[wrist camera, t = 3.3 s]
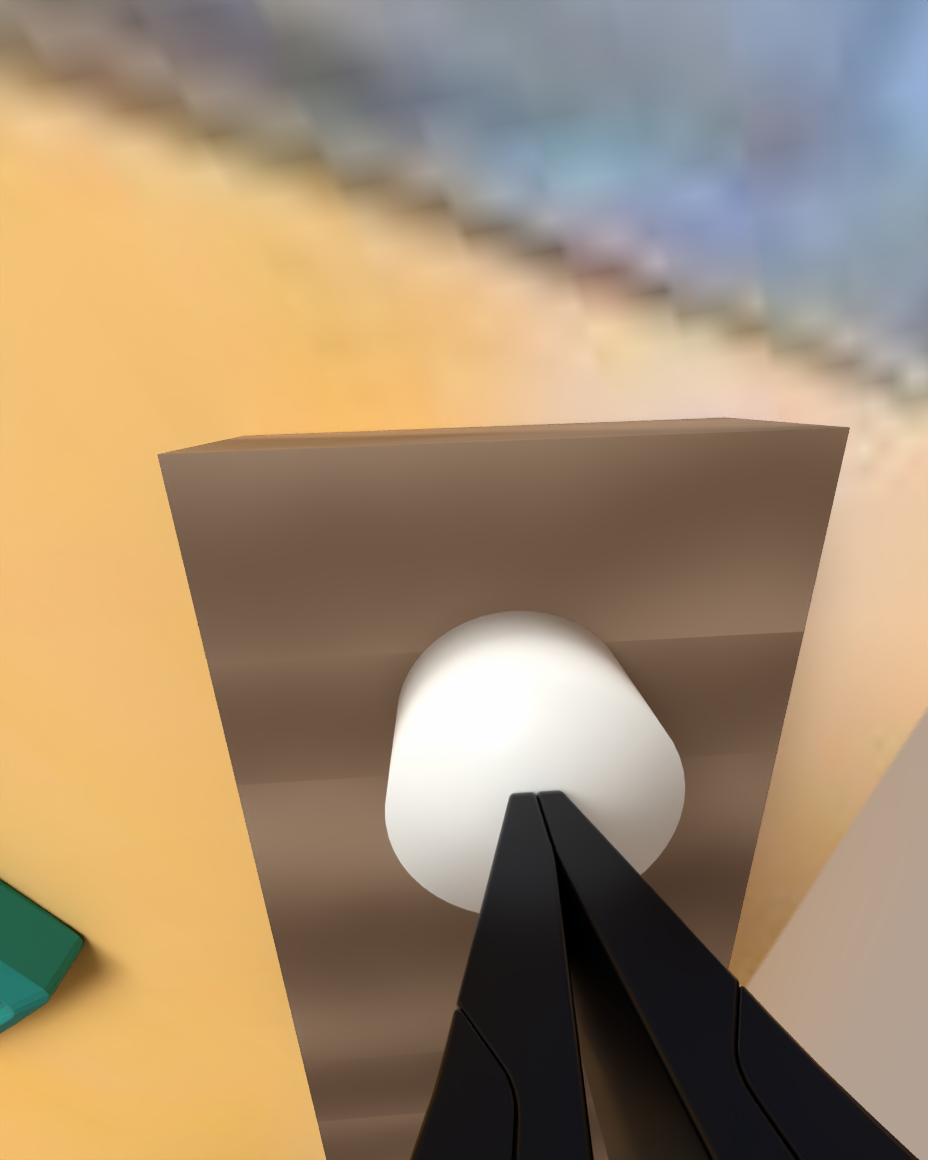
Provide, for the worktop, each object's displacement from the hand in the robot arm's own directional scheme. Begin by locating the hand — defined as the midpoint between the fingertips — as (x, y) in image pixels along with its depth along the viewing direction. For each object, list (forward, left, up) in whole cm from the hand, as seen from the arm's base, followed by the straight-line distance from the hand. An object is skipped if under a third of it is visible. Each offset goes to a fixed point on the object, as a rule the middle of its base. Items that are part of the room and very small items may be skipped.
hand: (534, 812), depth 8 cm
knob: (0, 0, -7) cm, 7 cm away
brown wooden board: (-7, 0, -7) cm, 9 cm away
